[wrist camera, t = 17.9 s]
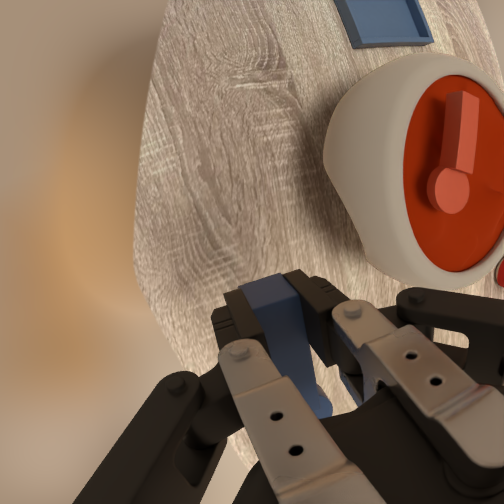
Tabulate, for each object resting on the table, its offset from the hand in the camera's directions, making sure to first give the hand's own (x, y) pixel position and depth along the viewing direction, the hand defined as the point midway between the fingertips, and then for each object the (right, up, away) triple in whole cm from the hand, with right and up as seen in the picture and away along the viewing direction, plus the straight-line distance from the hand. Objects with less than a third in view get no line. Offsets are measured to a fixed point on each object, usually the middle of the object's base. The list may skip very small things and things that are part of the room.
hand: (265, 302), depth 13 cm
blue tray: (+17, +34, +20) cm, 43 cm away
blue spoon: (+1, -3, +1) cm, 4 cm away
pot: (+16, +13, +26) cm, 33 cm away
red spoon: (+15, +10, +8) cm, 19 cm away
